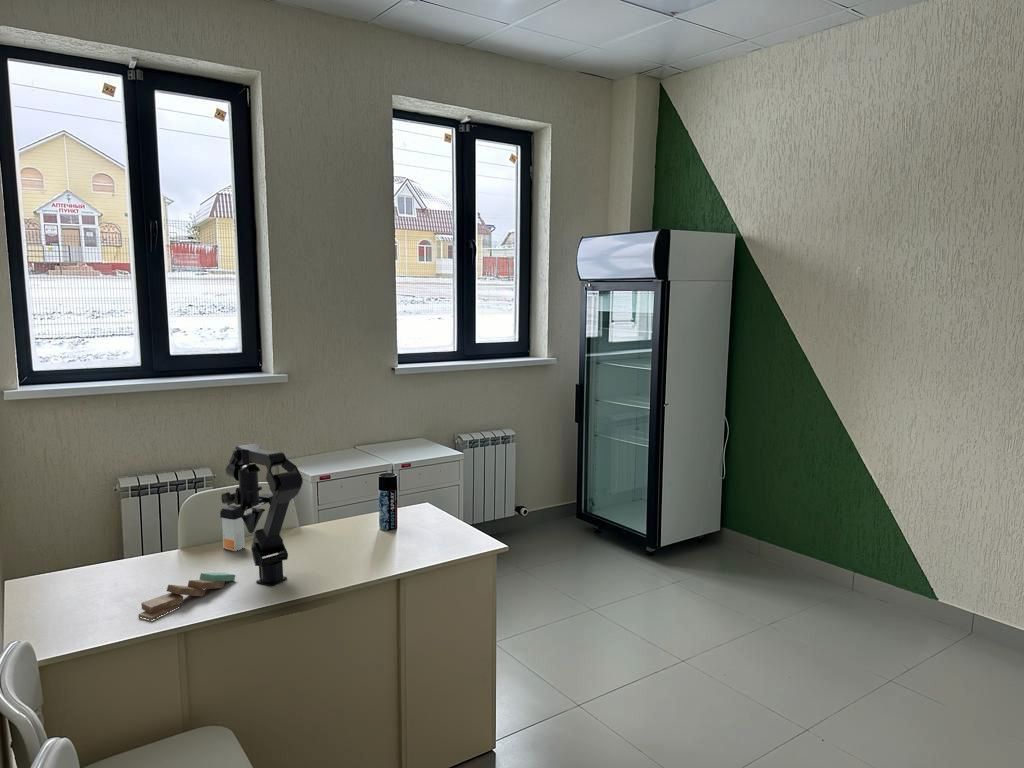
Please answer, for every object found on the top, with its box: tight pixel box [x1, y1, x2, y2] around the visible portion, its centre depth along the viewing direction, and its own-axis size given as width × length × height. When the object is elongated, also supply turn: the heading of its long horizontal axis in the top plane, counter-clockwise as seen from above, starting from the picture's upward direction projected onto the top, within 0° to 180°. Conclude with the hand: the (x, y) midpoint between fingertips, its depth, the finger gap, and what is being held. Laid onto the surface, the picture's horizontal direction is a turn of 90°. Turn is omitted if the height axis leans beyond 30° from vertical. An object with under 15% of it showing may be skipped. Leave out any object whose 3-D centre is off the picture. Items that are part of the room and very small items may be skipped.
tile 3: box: [166, 584, 207, 597], centre depth 199 cm, size 2×5×9 cm
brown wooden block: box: [138, 603, 181, 620], centre depth 192 cm, size 2×5×9 cm
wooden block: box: [187, 579, 226, 590], centre depth 205 cm, size 2×5×9 cm
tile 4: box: [141, 592, 184, 614], centre depth 194 cm, size 2×5×9 cm
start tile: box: [199, 572, 236, 582], centre depth 210 cm, size 2×5×9 cm
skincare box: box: [221, 518, 246, 552], centre depth 240 cm, size 6×4×12 cm
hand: (251, 532), depth 220 cm, fingers closed
